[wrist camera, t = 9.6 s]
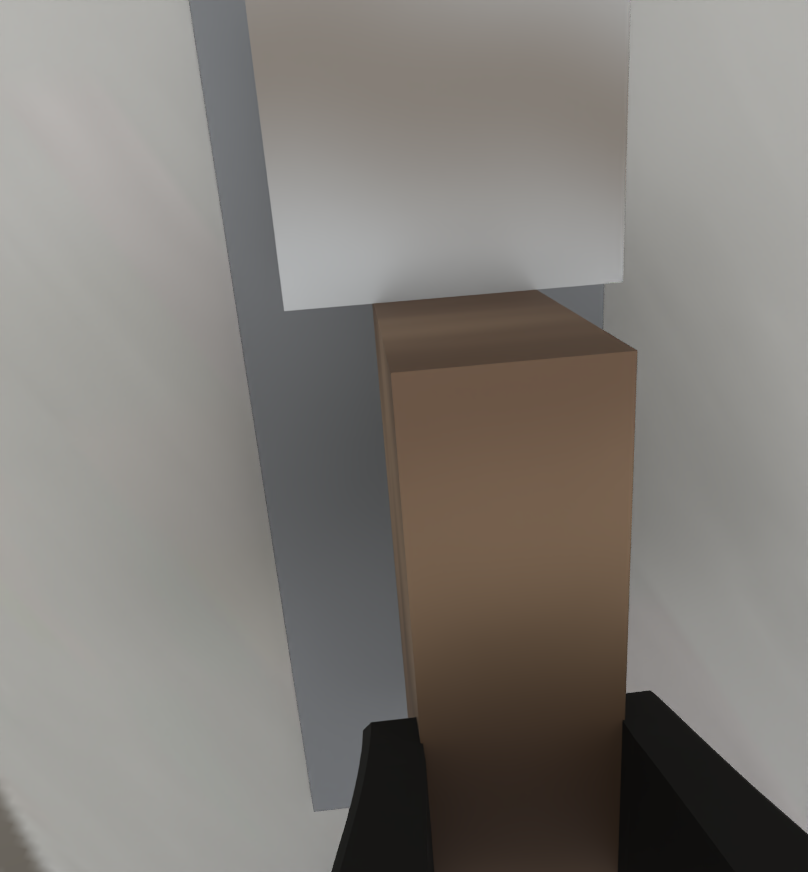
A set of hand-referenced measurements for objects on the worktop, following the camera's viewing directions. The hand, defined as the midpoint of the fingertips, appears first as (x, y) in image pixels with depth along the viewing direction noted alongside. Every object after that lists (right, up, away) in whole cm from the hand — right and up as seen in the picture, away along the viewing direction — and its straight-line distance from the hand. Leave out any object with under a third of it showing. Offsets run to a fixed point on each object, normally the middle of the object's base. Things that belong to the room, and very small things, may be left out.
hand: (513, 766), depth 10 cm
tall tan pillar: (0, +3, +3) cm, 5 cm away
